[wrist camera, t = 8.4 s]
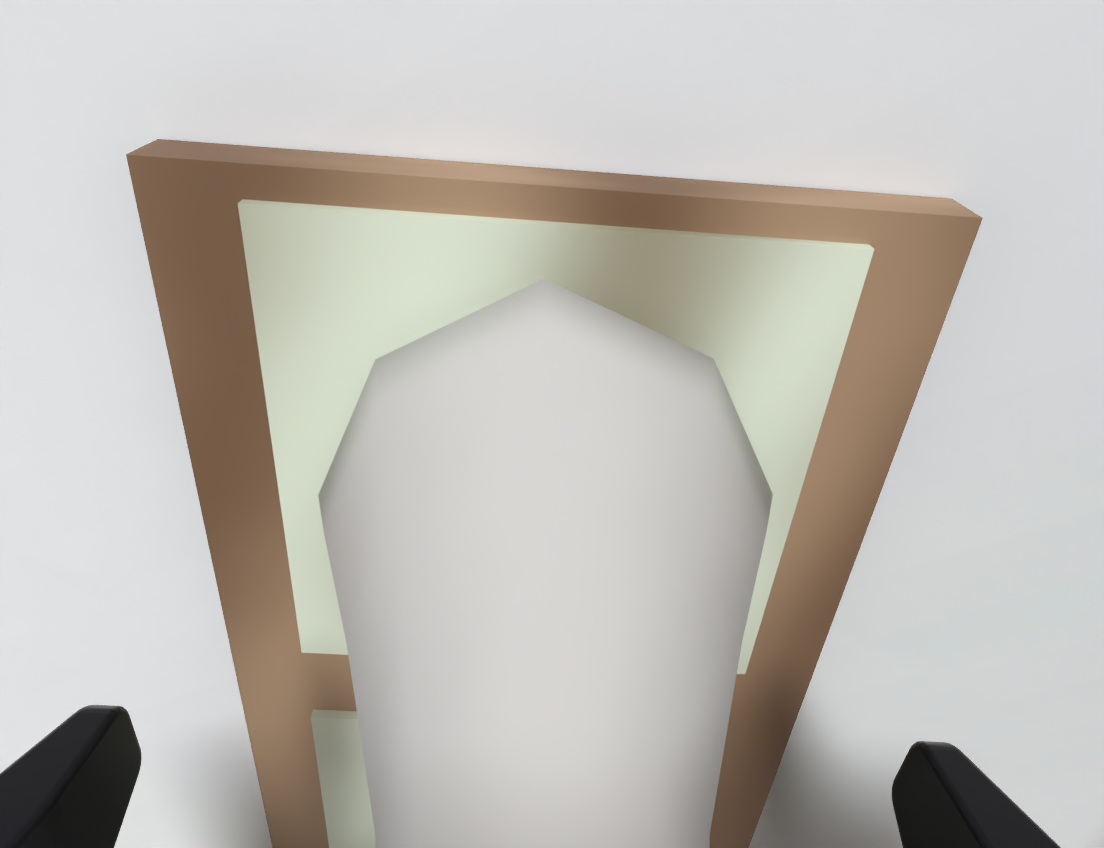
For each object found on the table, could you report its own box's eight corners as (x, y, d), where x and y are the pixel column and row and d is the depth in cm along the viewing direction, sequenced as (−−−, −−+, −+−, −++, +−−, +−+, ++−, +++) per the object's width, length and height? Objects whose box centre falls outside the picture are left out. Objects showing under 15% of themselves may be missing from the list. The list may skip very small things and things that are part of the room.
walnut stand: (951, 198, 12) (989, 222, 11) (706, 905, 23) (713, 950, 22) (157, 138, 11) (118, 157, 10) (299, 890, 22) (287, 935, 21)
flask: (547, 684, 16) (543, 1536, 7) (248, 485, 13) (-307, 1463, 5) (843, 484, 13) (1380, 1460, 5) (543, 182, 10) (512, 1184, 2)
